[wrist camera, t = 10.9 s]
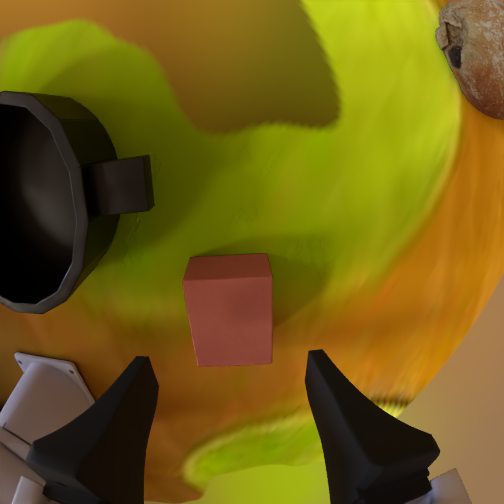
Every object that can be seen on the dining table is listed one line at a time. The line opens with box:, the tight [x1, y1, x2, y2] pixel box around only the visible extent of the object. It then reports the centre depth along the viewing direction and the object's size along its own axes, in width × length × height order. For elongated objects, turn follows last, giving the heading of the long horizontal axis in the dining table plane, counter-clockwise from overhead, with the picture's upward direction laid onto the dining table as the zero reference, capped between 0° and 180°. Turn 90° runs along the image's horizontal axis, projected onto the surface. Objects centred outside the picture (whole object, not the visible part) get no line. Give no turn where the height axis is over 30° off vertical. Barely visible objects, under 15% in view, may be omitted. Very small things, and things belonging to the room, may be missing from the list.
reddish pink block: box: [182, 253, 273, 367], centre depth 17 cm, size 6×4×3 cm
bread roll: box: [435, 0, 504, 120], centre depth 10 cm, size 10×10×8 cm
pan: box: [0, 91, 155, 314], centre depth 12 cm, size 12×18×4 cm
